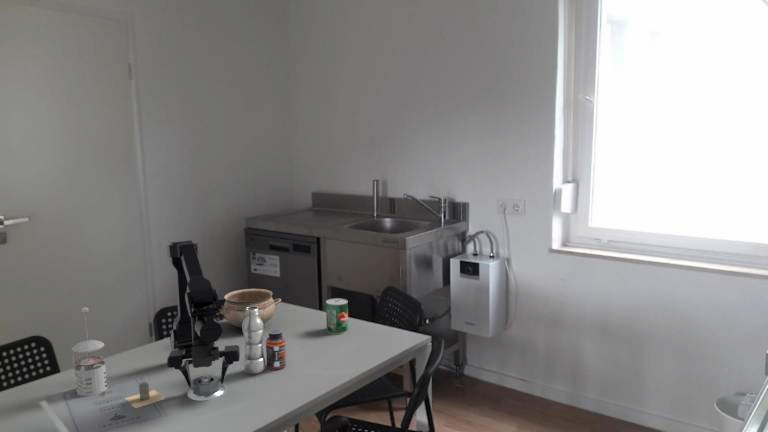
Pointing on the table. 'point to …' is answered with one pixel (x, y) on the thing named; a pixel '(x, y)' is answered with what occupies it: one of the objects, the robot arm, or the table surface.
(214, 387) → the collar
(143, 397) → the stand
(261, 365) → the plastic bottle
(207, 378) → the disc
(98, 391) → the french press
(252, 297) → the cooking pot
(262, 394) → the table surface
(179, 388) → the table surface
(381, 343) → the table surface
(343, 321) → the canned tomato
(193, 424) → the table surface
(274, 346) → the supplement bottle
